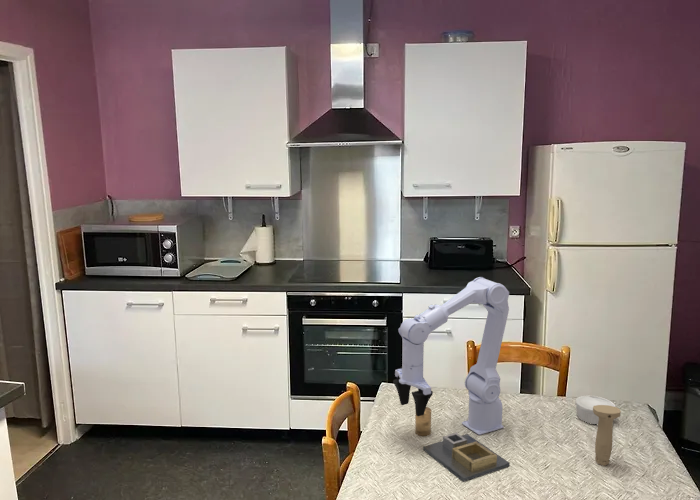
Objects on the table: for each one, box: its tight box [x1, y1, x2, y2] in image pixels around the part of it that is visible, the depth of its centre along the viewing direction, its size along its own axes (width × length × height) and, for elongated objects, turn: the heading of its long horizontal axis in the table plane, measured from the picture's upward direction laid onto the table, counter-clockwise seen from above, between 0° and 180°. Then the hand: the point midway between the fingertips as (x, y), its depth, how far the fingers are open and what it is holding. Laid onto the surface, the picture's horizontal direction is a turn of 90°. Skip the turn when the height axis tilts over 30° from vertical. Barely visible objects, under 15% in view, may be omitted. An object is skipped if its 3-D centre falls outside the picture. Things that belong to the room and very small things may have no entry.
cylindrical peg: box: [414, 406, 432, 438], centre depth 163 cm, size 4×4×7 cm
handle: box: [593, 405, 622, 467], centre depth 146 cm, size 5×6×15 cm
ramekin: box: [574, 394, 616, 425], centre depth 172 cm, size 11×11×5 cm
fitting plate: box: [422, 432, 511, 483], centre depth 150 cm, size 15×17×4 cm
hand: (412, 409), depth 157 cm, fingers open, 7 cm apart
